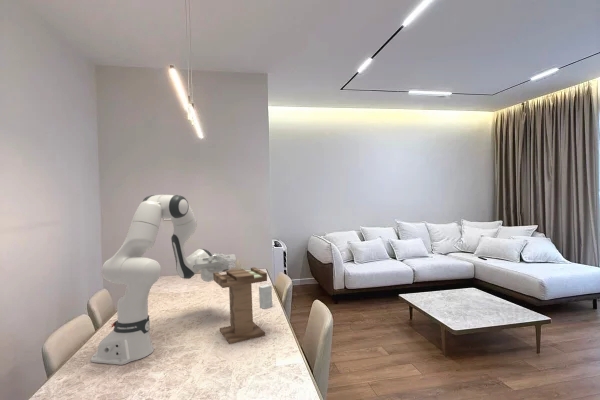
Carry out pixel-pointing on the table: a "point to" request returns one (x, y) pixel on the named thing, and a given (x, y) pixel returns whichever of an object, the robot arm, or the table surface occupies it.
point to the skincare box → (265, 296)
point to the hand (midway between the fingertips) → (218, 255)
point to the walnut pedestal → (240, 303)
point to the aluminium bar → (225, 260)
